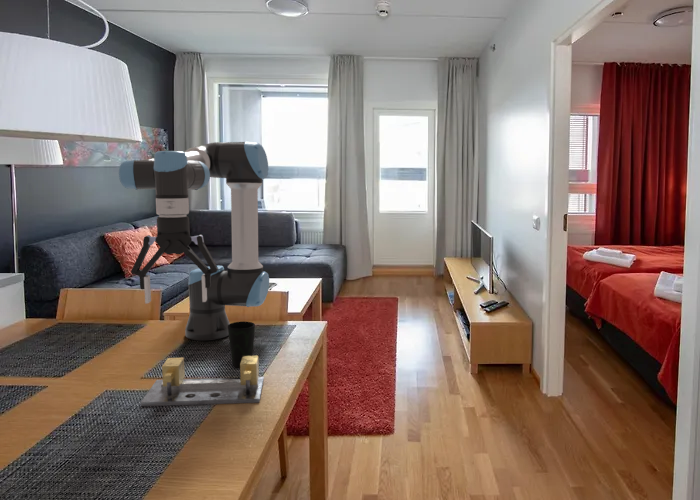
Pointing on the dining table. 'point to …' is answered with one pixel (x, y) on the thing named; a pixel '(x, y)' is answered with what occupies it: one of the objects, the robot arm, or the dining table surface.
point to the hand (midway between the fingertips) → (176, 301)
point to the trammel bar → (247, 375)
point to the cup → (241, 341)
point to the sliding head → (173, 373)
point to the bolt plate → (202, 395)
